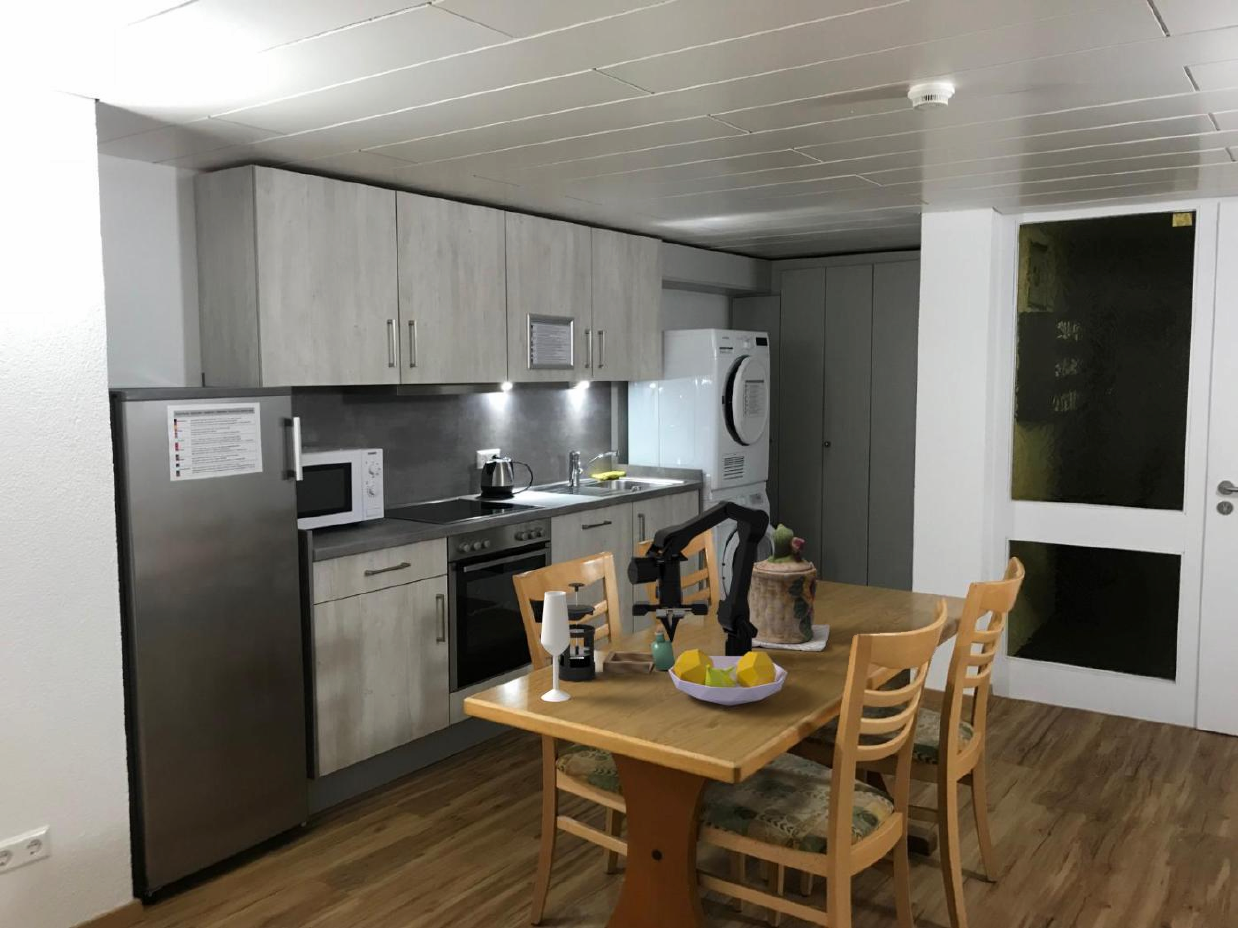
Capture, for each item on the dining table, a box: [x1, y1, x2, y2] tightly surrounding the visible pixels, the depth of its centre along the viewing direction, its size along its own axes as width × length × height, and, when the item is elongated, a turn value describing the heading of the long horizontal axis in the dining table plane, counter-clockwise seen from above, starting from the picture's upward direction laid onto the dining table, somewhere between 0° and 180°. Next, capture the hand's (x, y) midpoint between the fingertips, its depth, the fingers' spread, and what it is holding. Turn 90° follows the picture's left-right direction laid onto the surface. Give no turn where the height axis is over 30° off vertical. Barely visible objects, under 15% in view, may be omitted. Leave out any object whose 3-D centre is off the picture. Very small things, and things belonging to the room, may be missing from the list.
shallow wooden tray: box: [602, 650, 654, 675], centre depth 253 cm, size 12×11×2 cm
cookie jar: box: [748, 523, 831, 652], centre depth 280 cm, size 25×25×32 cm
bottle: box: [650, 630, 676, 671], centre depth 252 cm, size 5×5×9 cm
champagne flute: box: [540, 590, 571, 703], centre depth 228 cm, size 7×7×24 cm
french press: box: [558, 582, 597, 683], centre depth 245 cm, size 12×9×23 cm
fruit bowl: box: [667, 648, 788, 707], centre depth 228 cm, size 28×27×11 cm
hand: (671, 642), depth 251 cm, fingers closed, pressing on bottle
